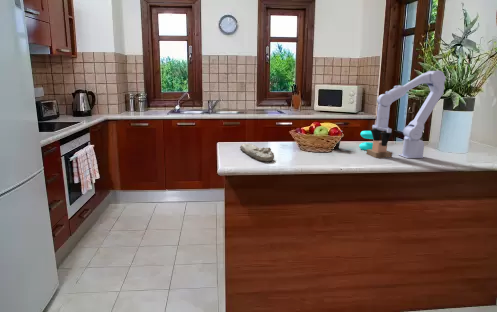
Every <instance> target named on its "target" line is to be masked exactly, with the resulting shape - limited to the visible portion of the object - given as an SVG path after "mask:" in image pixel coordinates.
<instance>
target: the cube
mask: <svg viewBox="0 0 497 312" xmlns="http://www.w3.org/2000/svg"><path fill="white" fill-rule="evenodd" d="M372 143H373V148H372V150H373V151H376V152H387V151H388V144H387V145H386V146H382V140H379V141H374V140H373V141H372Z"/></svg>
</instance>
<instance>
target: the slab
mask: <svg viewBox="0 0 497 312" xmlns="http://www.w3.org/2000/svg"><path fill="white" fill-rule="evenodd" d="M365 154H366V155H367V156H370V157H373V158H374V159H383V158H385V157H390V158H393V157H392V156H393V152H391V151H389V150H387V152H376V151H373V150H372V149H367V150H366V153H365Z"/></svg>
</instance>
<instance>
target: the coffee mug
mask: <svg viewBox="0 0 497 312" xmlns="http://www.w3.org/2000/svg"><path fill="white" fill-rule="evenodd" d="M340 131H341V132H342V133H343V130H340ZM341 137H342V136H341ZM343 137H344V136H343ZM343 137H342V138H341V140H343ZM341 140H340V141H339V142H338V143H337V144H336V146H335V147H334V149H333V150H339V149H340V145H341Z"/></svg>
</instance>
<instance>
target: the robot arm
mask: <svg viewBox="0 0 497 312" xmlns="http://www.w3.org/2000/svg"><path fill="white" fill-rule="evenodd" d="M446 79H447V78H446V76H445V73H444V72H443V71H442V70H439V69H438V70H428V71H426V72H423V73H421V74H420V75H418V76H416V77H415V78H413V79H412V80H410V81H409V82H407V83H405V84H404V85H401V84H400V85H399V84H398V85H394V86H393V88H392V89H389V90H386V91H385V92H384V93H382V94H380V95H378V97H377V99H376V103H377V110H376V111H377V112H376V121H375V123H376V124H372V126H371V127H372V129H370V131H371V132H372V135H373V139H372V140H373V141H380V138H381V141H382V146H386V145H387V146H388V143H389V140H390V138H391V136H392V135H393V132H392V130H393V129H392V128H390V127H389V119H390V110H391V109H390V108H391V105H392V103H394V102H395V101H397V100H399V99H401V98H402V97H404V96H406V93H407V92H408V91H410V90H412V89H414V88H415V87H417V86H420V85H423V84H426V85H427V86H428V88H429V91H430V92H429V93H428V95H427V97H426V98H425V100H424V102H423V103H422V105H421V107H420V109H419V110H418V112H417V113H416V115H415V117H414V119H412V120H411V121H410V122H409V123H408V125H406V126H405V127H404V128H403V130H402V134H403V136H404V137H403V144H402V152H401V153H398V154H397V155H398V156H400V157H402V158H405V159H424V152H425V151H424V150H425V142H424V141H423V139H421V138H422V136H423V131H424V130H425V123H426V122H427V120H428V119H429V117H430V115H431V113H433V111H434V108H435V107H436V105H437V104H438V102H439V100H440V99H441V97H442V96H443V94H444V92H445V81H446Z"/></svg>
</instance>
